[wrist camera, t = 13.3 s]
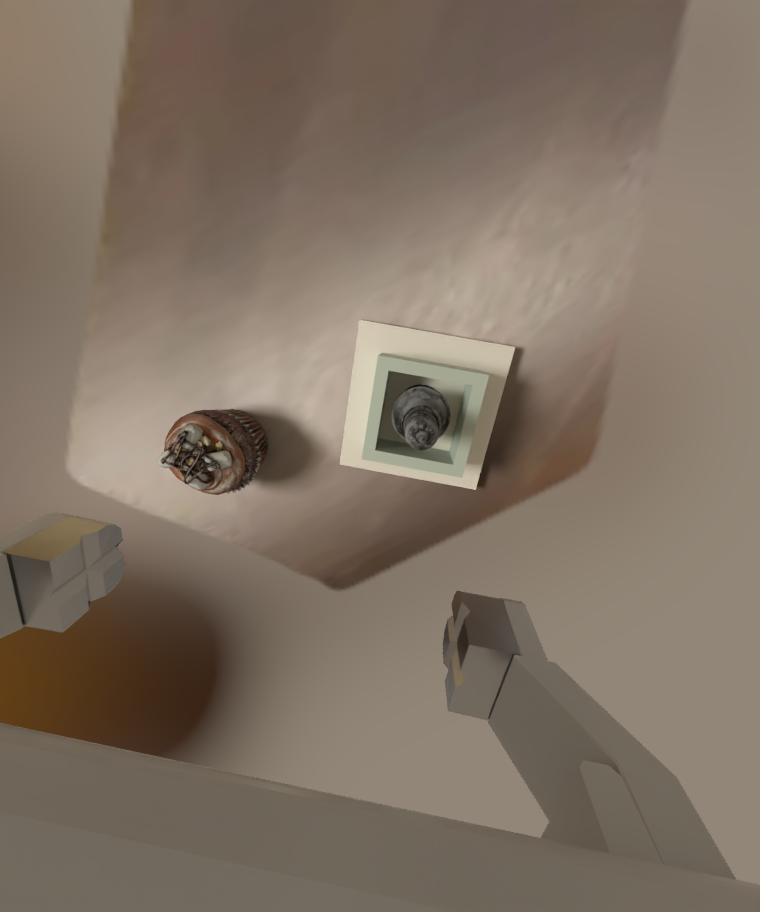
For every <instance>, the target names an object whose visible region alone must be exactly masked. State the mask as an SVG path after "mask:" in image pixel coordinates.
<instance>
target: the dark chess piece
mask: <svg viewBox="0 0 760 912" xmlns="http://www.w3.org/2000/svg"><path fill="white" fill-rule="evenodd" d="M450 416H451V414H450V407H449V405H448V403H447V400H446V399H445V398H444V396H443V395H442V394H441V393H439V392H438V391H437V390H435V389H434V388H432V387H430V386H427V385H414V386H411V387H409V388H407V389H406V390H405V391H404V392H402V394H401V395H400V396H398V398H397V399H396V401H395V402H394V405H393V408H392V413H391V419H392V425H393V427H394V429H395V431H396V432H397V433H398V435H399V436H400V437H401V438H403V439H404V440H406V441H407V443H408V444H409V445H410V446H411V447H413V448H414V449H417V450H427V449H429V448H431V447H432V446H433V445H434V444H435V443H436V442H437V440H438V438H439V437H441V436H442V435H443V434H444V432H445V431H446V430H447V428H448V425H449V423H450Z"/></svg>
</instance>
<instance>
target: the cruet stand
mask: <svg viewBox="0 0 760 912" xmlns="http://www.w3.org/2000/svg"><path fill="white" fill-rule="evenodd" d="M514 350H515V347H512V346H506V345H500V344H495V343H489V342H483V341H478V340H472V339H466V338H461V337H455V336H449V335H443V334H438V333H432V332H426V331H421V330H415V329H409V328H403V327H398V326H392V325H386V324H381V323H375V322H369V321H364V320H359V328H358V335H357V342H356V349H355V357H354V364H353V371H352V379H351V386H350V393H349V400H348V408H347V415H346V422H345V430H344V437H343V444H342V452H341V459H340V464H341V465H346V466H351V467H357V468H362V469H367V470H373V471H378V472H383V473H389V474H394V475H399V476H405V477H410V478H415V479H421V480H426V481H431V482H437V483H442V484H447V485H453V486H458V487H463V488H469V489H474V490H476V487H477V483H478V479H479V476H480V472H481V469H482V465H483V461H484V458H485V454H486V451H487V447H488V444H489V440H490V436H491V433H492V429H493V426H494V422H495V418H496V415H497V411H498V408H499V404H500V400H501V397H502V393H503V390H504V386H505V382H506V379H507V375H508V372H509V368H510V365H511V361H512V357H513V354H514ZM414 385H427V386H430V387H432V388H434V389H435V390H437V391H438V392H439V393H441V394H442V395H443V396H444V398H445V399H446V400H447V403H448V405H449V407H450V414H451V416H450V423H449V425H448V428H447V430H446V431H445V432H444V434H443V435H442V436H441V437H439V438H438V440H437V442H436V443H435V444H434V445H433V446H432V447H431V448H429V449H427V450H417V449H414V448H413V447H411V446H410V445H409V444H408V443H407V441H406V440H404V439H403V438H401V437H400V436H399V435H398V433H397V432H396V431H395V429H394V427H393V425H392V419H391V413H392V408H393V405H394V402H395V401H396V399H397V398H398V396H400V395H401V394H402V392H404V391H405V390H406V389H407V388H409V387H411V386H414Z"/></svg>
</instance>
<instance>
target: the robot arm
mask: <svg viewBox="0 0 760 912" xmlns="http://www.w3.org/2000/svg"><path fill="white" fill-rule="evenodd" d="M122 541H123V539H122V533H121V528H119V527H118V526H116V525H115V524H111V523H107V522H102V521H97V520H92V519H88V518H84V517H79V516H73V515H69V514H64V513H59V512H50V513H46V514H44V515H42V516H40V517H37V518H35V519H34V520H31V521H29V522H27V523H25V524H23V525H21V526H19V527H17V528H15V529H13V530H11V531H9V532H7V533H5V534H3V535H1V536H0V638H2V637H4V636H6V635H9V634H11V633H13V632H15V631H17V630H19V629H22V628H23V626H28V627H34V628H40V629H46V630H52V631H58V632H64V631H65V630H66V629H67V628H68V627H69V626H71V625H72V624H73V623H74V622H75V621H76V620H78V619H79V618H80V617H81V616H82V615H83V614H85V613H86V612H87V611H88V610H89V608H90V603H91V601H93V600H95V599H98V598H100V597H103V596H105V595H107V594H108V593H109V592H110V591H111V590H112V589H113V588H114V587H115V586H116V585H117V583H118V582H119V580H120V578H121V577H122V575H123V571H124V566H125V561H124V555H123V554H122V552H121V551H120V550H119V549H118V545H119V544H120V543H121V542H122ZM452 611H453V616H451V617H450V618H449V619H448V620H447V623H446V627H445V631H444V638H443V662H444V664H445V666H446V667H447V668H448V673H447V676H446V680H445V686H446V696H447V707H448V711H450V712H455V713H459V714H463V715H467V716H472V717H476V718H480V719H485V720H489V722H488V723H489V725H490V726H491V728H492V730H493V731H494V733H495V734H496V736H497V738H498V739H499V741H500V742H501V744H502V746H503V747H504V749H505V751H506V752H507V754H508V755H509V757H510V759H511V760H512V762H513V764H514V765H515V766H516V768H517V770H518V772H519V773H520V775H521V776H522V778H523V779H524V781H525V783H526V784H527V786H528V788H529V789H530V791H531V792H532V794H533V796H534V797H535V799H536V800H537V802H538V804H539V805H540V807H541V809H542V810H543V812H544V813H545V815H546V817H547V818H548V820H549V824H548V825H547V827H546V829H545V831H544V832H543V834H542V836H541V838H538V837H533V836H528V835H524V834H519V833H514V832H509V831H505V830H500V829H495V828H491V827H486V826H481V825H477V824H472V823H467V822H463V821H458V820H453V819H448V818H444V817H439V816H434V815H429V814H425V813H420V812H415V811H411V810H406V809H401V808H397V807H392V806H388V805H383V804H378V803H373V802H369V801H364V800H359V799H354V798H350V797H345V796H340V795H336V794H331V793H326V792H322V791H317V790H312V789H307V788H303V787H298V786H293V785H288V784H284V783H279V782H274V781H270V780H265V779H260V778H255V777H251V776H246V775H241V774H236V773H232V772H227V771H222V770H217V769H213V768H208V767H203V766H198V765H194V764H189V763H185V762H180V761H175V760H170V759H165V758H161V757H156V756H152V755H147V754H142V753H137V752H133V751H128V750H123V749H119V748H114V747H110V746H104V745H100V744H95V743H91V742H86V741H81V740H77V739H72V738H67V737H62V736H58V735H53V734H48V733H44V732H39V731H35V730H29V729H25V728H20V727H16V726H11V725H6V724H1V723H0V912H760V885H758V884H753V883H748V882H744V881H740V880H736V878H735V876H734V875H733V873H732V871H731V870H730V868H729V866H728V864H727V863H726V861H725V859H724V858H723V856H722V854H721V852H720V851H719V849H718V847H717V846H716V844H715V842H714V840H713V839H712V837H711V835H710V834H709V832H708V830H707V828H706V827H705V825H704V823H703V822H702V820H701V818H700V817H699V815H698V813H697V811H696V810H695V808H694V806H693V804H692V803H691V801H690V799H689V798H688V796H687V794H686V793H685V791H684V789H683V787H682V786H681V784H680V782H679V780H678V779H677V777H676V776H675V775H674V774H673V773H672V772H670V771H669V770H668V769H667V768H666V767H665V766H664V765H663V764H662V763H661V762H660V761H659V760H658V759H657V758H656V757H654V756H653V755H652V754H651V753H650V752H649V751H648V750H647V749H646V748H645V747H644V746H643V745H642V744H641V743H640V742H639V741H637V739H635V738H634V737H633V736H632V735H631V734H630V733H629V732H628V731H627V730H626V729H625V728H624V727H623V726H622V725H620V724H619V722H617V721H616V720H615V719H614V718H613V717H612V716H611V715H610V714H609V713H608V712H607V711H606V710H605V709H604V708H602V706H601V705H599V704H598V703H597V702H596V701H595V700H594V699H593V698H592V697H591V696H590V695H589V694H588V693H587V692H586V691H585V690H583V689H582V688H581V687H580V686H579V685H578V684H577V683H576V682H575V681H574V680H573V679H572V678H571V677H570V676H569V675H567V673H566V672H565V671H563V670H562V669H561V668H560V667H559V666H558V665H557V664H556V663H553V662H549V661H548V659H547V657H546V654H545V652H544V650H543V647H542V645H541V643H540V640H539V638H538V635H537V633H536V630H535V628H534V626H533V623H532V620H531V618H530V616H529V613H528V611H527V608H526V606H525V604H524V603H522V602H521V601H515V600H509V599H503V598H500V599H498V598H493V597H487V596H482V595H477V594H472V593H467V592H461V591H457V592H456V593H455V595H454V598H453V602H452Z"/></svg>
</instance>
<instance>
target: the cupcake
mask: <svg viewBox="0 0 760 912" xmlns="http://www.w3.org/2000/svg"><path fill="white" fill-rule="evenodd" d="M267 440H268V439H267V437H266V435H265V430H264V429H263V428H262V427H261V424H260V423H259V422H256V421H255V420H254V419H253V418H252V417H251V416H249V415H247V414H246V413H243V412H240V411H238V410H233V409H230V410H201V411H195V412H192V413H190V414H187V415H185V416H183V417H181V418H180V419H179V420H177V421H176V422H175V424H174V425H173V427H172V428H171V430H170V431H169V433H168V435H167V437H166V440H165V449H164V452H163V453H161V454H160V455H159V456H158V458H157V463H158V465H159V466H160V467H162V468H170V470H171V471H172V472H173V473H174V474H175V476H176V477H177V478H178V479H180V480H181V481H183V482H184V483H185V484H187V485H189V486H191V487H192V488H194V489H196V490H199V491H201V492H204V493H208V494H215V495H219V494H222V493H225V492H227V493H228V494H229V493H230V492H231V491H232V492H233V493H234V492H235V491H236V490H238V491H240V490H241V488H245V486H246V484H247V485H249V483H250V482H251V481H252V480H253V479H254V477H255V475H256V473H257V472H258V469H259V467H260V465H261V464H262V462H263V460H264V458H265V455H266V453H267V450H268V445H267Z"/></svg>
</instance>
